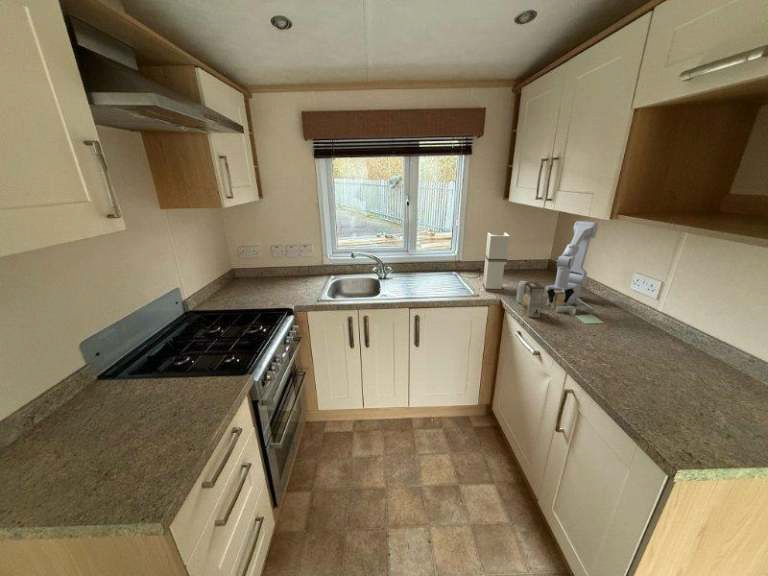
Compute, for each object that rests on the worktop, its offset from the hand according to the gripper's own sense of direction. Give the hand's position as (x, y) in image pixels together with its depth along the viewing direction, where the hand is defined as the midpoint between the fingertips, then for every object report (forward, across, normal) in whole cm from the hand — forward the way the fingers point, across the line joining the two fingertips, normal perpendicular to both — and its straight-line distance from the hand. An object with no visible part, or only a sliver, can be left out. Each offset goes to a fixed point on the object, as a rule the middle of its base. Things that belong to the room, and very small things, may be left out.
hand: (557, 302), depth 163 cm
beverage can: (+4, -15, +9) cm, 18 cm away
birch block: (+3, 0, 0) cm, 3 cm away
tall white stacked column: (+4, -24, +32) cm, 40 cm away
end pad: (+3, +8, -14) cm, 17 cm away
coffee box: (+4, -17, -6) cm, 18 cm away
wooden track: (+3, +5, -2) cm, 6 cm away
